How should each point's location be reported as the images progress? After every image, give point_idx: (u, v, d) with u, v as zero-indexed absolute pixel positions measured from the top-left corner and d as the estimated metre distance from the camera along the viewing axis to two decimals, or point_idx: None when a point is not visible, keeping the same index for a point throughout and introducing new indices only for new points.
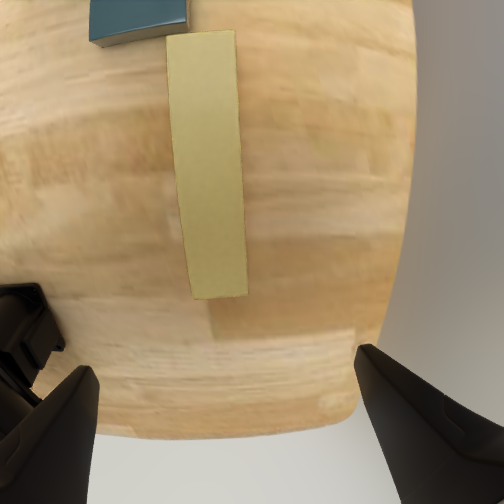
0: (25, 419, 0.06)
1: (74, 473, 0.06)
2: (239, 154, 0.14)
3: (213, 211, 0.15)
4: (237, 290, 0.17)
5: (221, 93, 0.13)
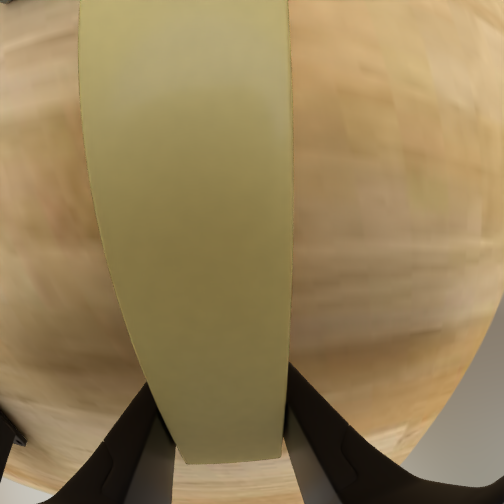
0: (111, 433, 0.06)
1: (163, 484, 0.06)
2: (288, 241, 0.05)
3: (217, 366, 0.06)
4: (262, 455, 0.08)
5: (239, 54, 0.04)
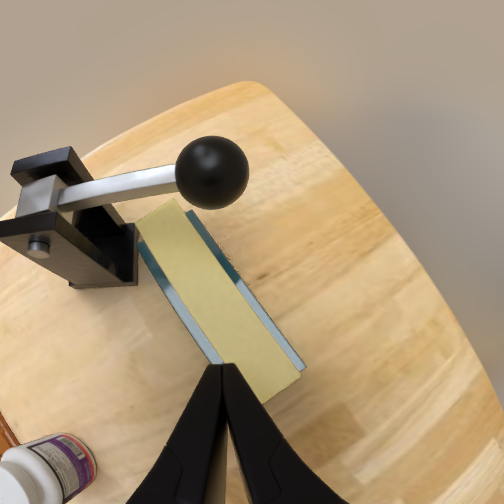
0: (173, 436, 0.06)
1: (221, 484, 0.06)
2: (224, 271, 0.19)
3: (230, 322, 0.18)
4: (290, 376, 0.17)
5: (188, 240, 0.19)
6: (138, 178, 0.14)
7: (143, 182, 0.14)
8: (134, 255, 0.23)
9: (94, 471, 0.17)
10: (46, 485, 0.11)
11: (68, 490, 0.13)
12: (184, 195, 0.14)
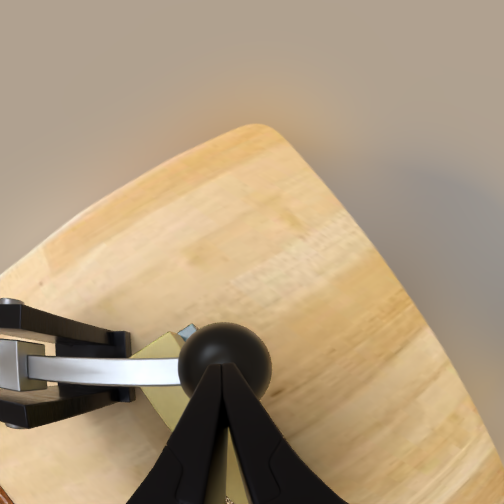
0: (174, 436, 0.06)
1: (222, 484, 0.06)
2: None
3: None
4: None
5: None
6: (129, 372, 0.10)
7: (137, 379, 0.10)
8: None
9: None
10: None
11: None
12: None
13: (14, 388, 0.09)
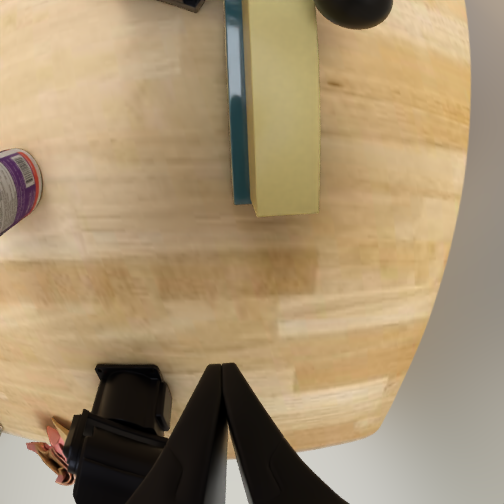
0: (173, 436, 0.06)
1: (221, 484, 0.06)
2: (317, 59, 0.12)
3: (289, 112, 0.13)
4: (307, 206, 0.15)
5: (300, 3, 0.11)
6: None
7: None
8: None
9: (36, 202, 0.18)
10: None
11: (0, 228, 0.13)
12: None
13: None
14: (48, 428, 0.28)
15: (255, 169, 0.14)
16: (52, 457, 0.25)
